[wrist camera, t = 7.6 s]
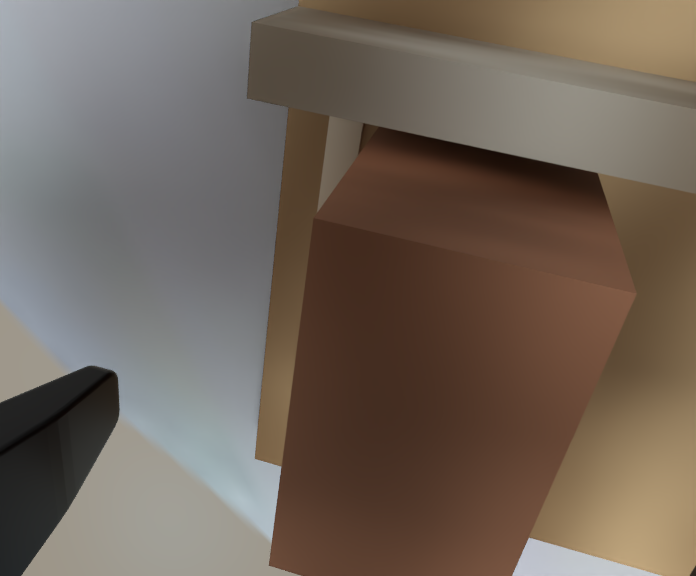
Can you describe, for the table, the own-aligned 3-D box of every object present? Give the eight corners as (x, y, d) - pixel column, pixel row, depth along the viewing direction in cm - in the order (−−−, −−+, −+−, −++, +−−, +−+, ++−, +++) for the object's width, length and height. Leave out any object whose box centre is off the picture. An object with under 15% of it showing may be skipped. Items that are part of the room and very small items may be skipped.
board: (1259, 85, 10) (1577, 151, 7) (827, 587, 17) (896, 733, 14) (323, -78, 12) (257, -81, 9) (268, 430, 19) (220, 527, 16)
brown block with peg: (592, 155, 12) (636, 293, 8) (458, 531, 18) (437, 743, 13) (389, 112, 13) (313, 217, 8) (321, 491, 18) (253, 682, 14)
